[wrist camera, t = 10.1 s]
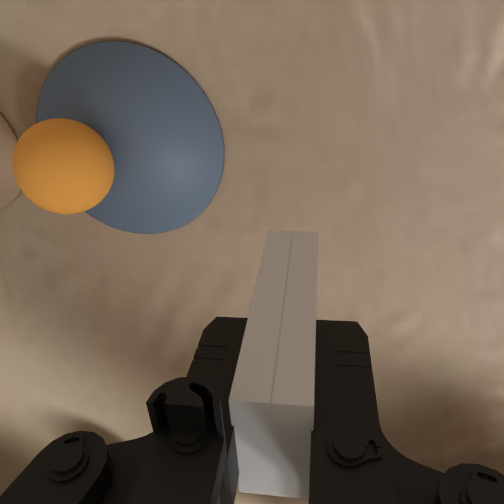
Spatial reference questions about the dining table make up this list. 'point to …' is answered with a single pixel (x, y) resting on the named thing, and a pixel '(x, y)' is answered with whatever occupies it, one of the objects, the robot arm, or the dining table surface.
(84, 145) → the ball
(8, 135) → the disc
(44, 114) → the disc
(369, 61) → the dining table surface
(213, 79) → the dining table surface
